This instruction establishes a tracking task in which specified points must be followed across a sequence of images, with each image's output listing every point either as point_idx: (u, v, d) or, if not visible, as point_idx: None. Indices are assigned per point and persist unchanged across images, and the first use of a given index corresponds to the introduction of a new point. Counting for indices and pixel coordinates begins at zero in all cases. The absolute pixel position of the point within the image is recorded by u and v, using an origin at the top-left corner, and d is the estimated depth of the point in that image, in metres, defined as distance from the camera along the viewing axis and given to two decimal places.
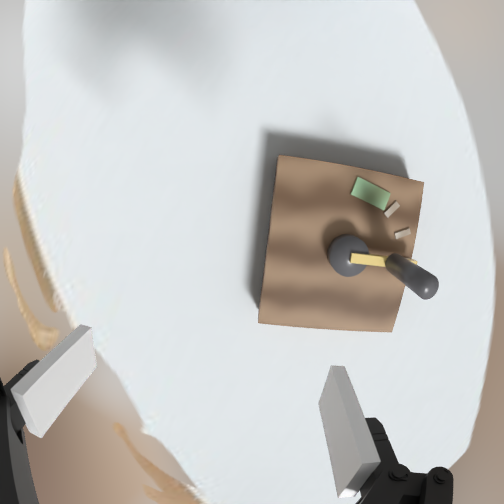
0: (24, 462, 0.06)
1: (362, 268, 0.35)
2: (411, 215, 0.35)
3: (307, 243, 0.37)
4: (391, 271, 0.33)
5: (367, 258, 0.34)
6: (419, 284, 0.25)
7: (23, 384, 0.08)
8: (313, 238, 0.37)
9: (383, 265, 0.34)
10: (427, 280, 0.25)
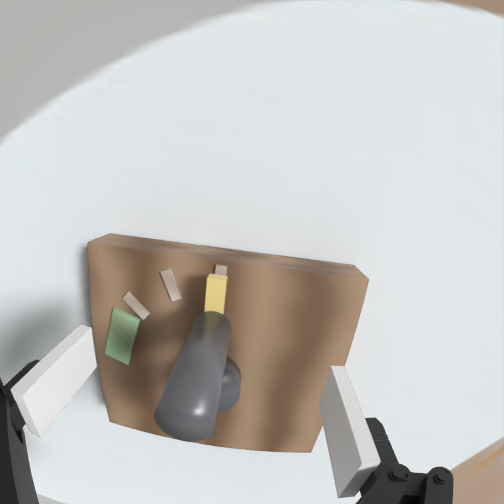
0: (24, 462, 0.06)
1: (225, 374, 0.21)
2: (139, 266, 0.21)
3: None
4: None
5: None
6: (178, 439, 0.11)
7: (23, 384, 0.08)
8: None
9: None
10: (167, 425, 0.11)
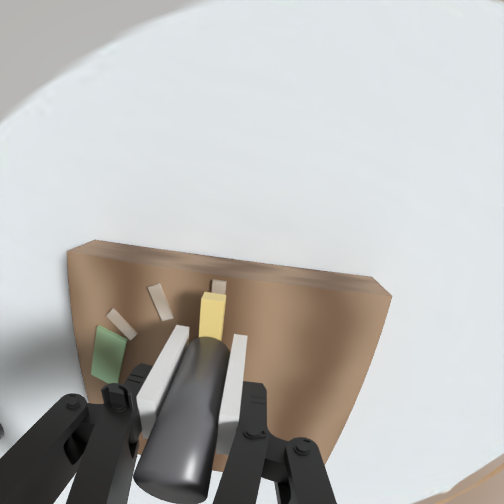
0: (127, 478, 0.07)
1: None
2: (124, 280, 0.18)
3: None
4: None
5: None
6: (165, 500, 0.07)
7: (149, 389, 0.11)
8: None
9: None
10: (150, 488, 0.07)
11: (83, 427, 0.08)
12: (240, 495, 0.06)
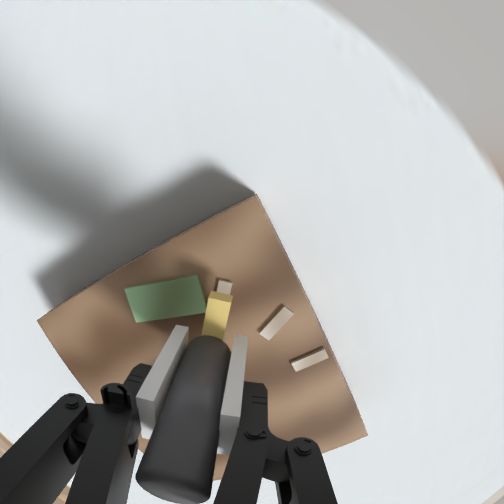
0: (126, 477, 0.07)
1: None
2: (272, 279, 0.17)
3: None
4: None
5: None
6: (164, 499, 0.07)
7: (148, 389, 0.11)
8: None
9: None
10: (151, 487, 0.07)
11: (82, 427, 0.08)
12: (241, 495, 0.06)
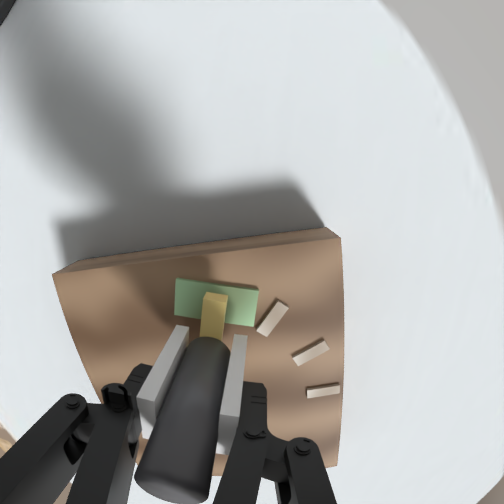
0: (127, 478, 0.07)
1: None
2: (323, 314, 0.18)
3: None
4: None
5: None
6: (165, 500, 0.08)
7: (149, 389, 0.11)
8: None
9: None
10: (151, 488, 0.07)
11: (83, 427, 0.08)
12: (240, 495, 0.06)
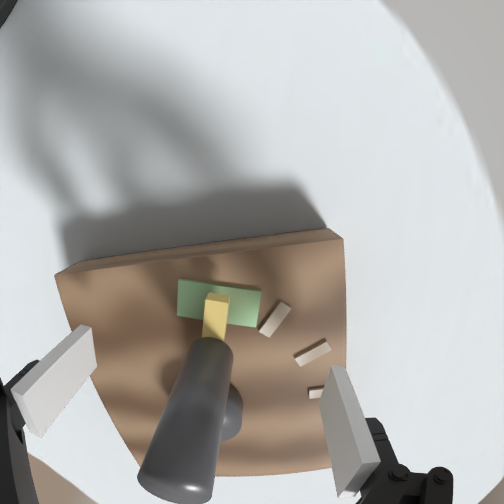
0: (24, 462, 0.06)
1: (225, 405, 0.17)
2: (326, 315, 0.18)
3: (145, 394, 0.20)
4: None
5: None
6: None
7: (23, 384, 0.08)
8: (150, 388, 0.20)
9: None
10: (154, 488, 0.07)
11: None
12: None
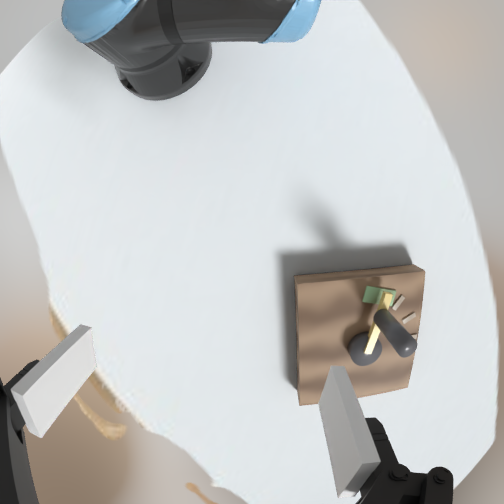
0: (24, 462, 0.06)
1: (378, 342, 0.39)
2: (415, 301, 0.40)
3: (331, 345, 0.42)
4: None
5: (371, 341, 0.39)
6: None
7: (23, 384, 0.08)
8: (335, 341, 0.42)
9: None
10: (401, 350, 0.29)
11: None
12: None
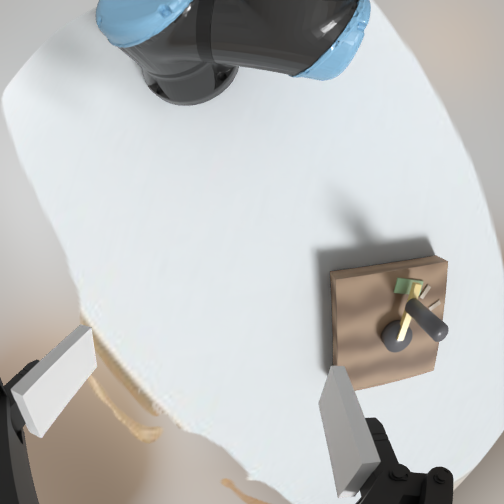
0: (24, 462, 0.06)
1: (409, 329, 0.41)
2: (440, 289, 0.42)
3: (366, 335, 0.44)
4: None
5: (403, 328, 0.41)
6: (435, 341, 0.31)
7: (23, 384, 0.08)
8: (370, 331, 0.44)
9: None
10: (435, 335, 0.31)
11: None
12: None
